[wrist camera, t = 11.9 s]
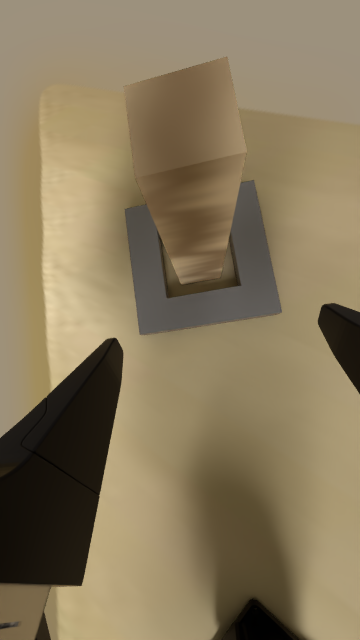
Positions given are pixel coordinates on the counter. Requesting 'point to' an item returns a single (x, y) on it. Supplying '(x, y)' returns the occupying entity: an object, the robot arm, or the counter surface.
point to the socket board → (212, 306)
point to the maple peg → (189, 162)
